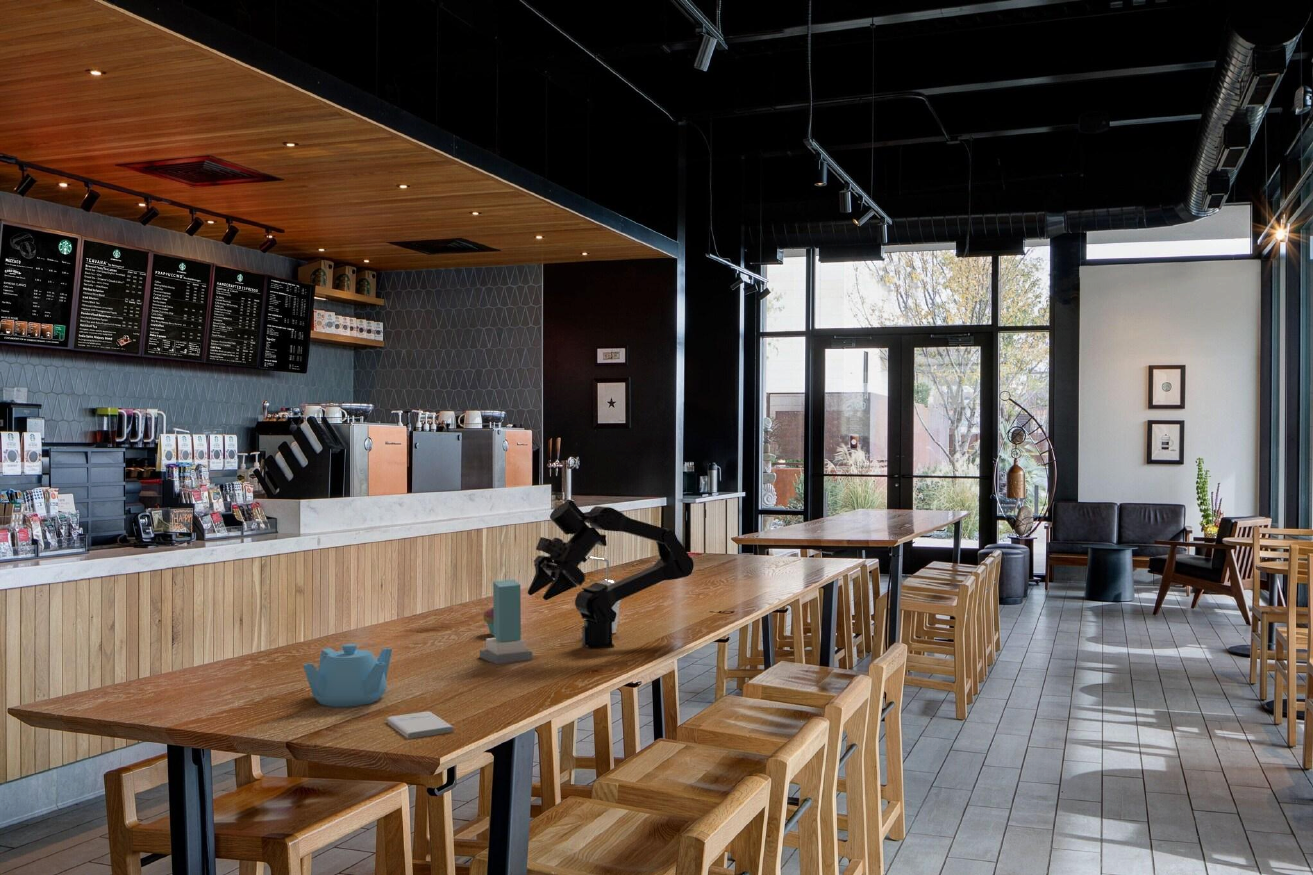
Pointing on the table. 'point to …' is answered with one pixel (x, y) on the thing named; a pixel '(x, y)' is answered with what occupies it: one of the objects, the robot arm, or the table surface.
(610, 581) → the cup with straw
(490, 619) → the cupcake
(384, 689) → the teapot
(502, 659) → the tower base slab
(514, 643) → the tower top slab
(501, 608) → the teal pillar
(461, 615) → the table surface
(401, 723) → the external hard drive
